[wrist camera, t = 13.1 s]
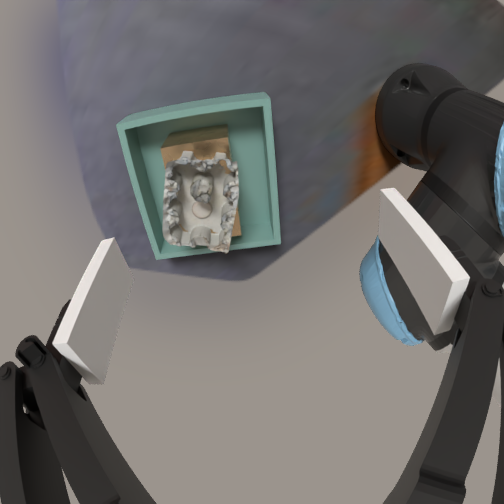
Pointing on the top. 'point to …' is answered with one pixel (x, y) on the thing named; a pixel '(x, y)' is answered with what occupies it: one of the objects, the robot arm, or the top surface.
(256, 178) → the tote
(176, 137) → the tan cardboard block
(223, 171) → the egg carton
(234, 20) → the top surface
